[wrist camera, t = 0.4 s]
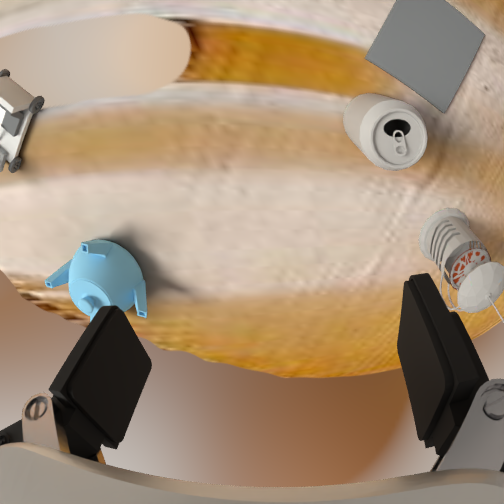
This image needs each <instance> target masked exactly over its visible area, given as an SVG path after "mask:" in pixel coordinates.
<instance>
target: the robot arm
mask: <svg viewBox="0 0 504 504" xmlns="http://www.w3.org/2000/svg"><path fill="white" fill-rule="evenodd" d="M397 349H398V355H399V358H400V362H401V366H402V369H403V373H404V377H405V381H406V385H407V389H408V393H409V398H410V402H411V406H412V411H413V415H414V420H415V425H416V430H417V435H418V438H419V440H420V441H422V440H424V442H425V447H426V448H429V447H433V446H435V449H436V454H437V455H439V457H438V459H437V460H436V462H435V464H434V465H433V467H432V469H431V470H430V472H426V473H420V474H414V475H409V476H401V477H395V478H390V479H383V480H376V481H369V482H361V483H352V484H342V485H341V484H340V485H329V486H313V487H283V488H282V487H275V488H274V487H244V486H228V485H217V484H207V483H198V482H191V481H183V480H177V479H170V478H165V477H159V476H153V475H149V474H144V473H139V472H134V471H130V470H126V469H122V468H118V467H113V466H110V465H106V463H105V460H104V457H103V454H102V451H101V448H100V447H101V444H103V445H104V446H105V447H110V448H113V449H117V447H118V445H119V443H120V442H121V441H122V440H123V439H124V436H125V433H126V431H127V428H128V425H129V423H130V420H131V418H132V415H133V413H134V410H135V407H136V405H137V403H138V400H139V398H140V395H141V392H142V390H143V388H144V385H145V383H146V380H147V377H148V375H149V373H150V371H151V366H152V363H151V359H150V358H149V356H148V354H147V353H146V351H145V349H144V347H143V346H142V344H141V342H140V341H139V339H138V337H137V335H136V334H135V332H134V330H133V328H132V326H131V325H130V323H129V321H128V319H127V317H126V315H125V313H124V312H123V310H121V309H120V308H119V307H118V306H116V305H110V306H102V307H101V308H100V309H99V310H98V312H97V313H96V315H95V316H94V317H93V319H92V320H91V322H90V323H89V325H88V327H87V328H86V330H85V331H84V333H83V334H82V336H81V337H80V339H79V340H78V342H77V343H76V345H75V347H74V348H73V350H72V351H71V353H70V355H69V356H68V358H67V360H66V361H65V363H64V364H63V366H62V368H61V369H60V371H59V373H58V374H57V376H56V378H55V379H54V381H53V383H52V384H51V386H50V388H49V390H50V392H51V393H52V394H53V397H52V398H51V397H50V396H49V395H48V394H46V393H38V394H35V395H34V396H32V397H31V398H30V399H29V400H28V401H27V402H26V404H25V405H24V407H23V410H22V419H21V420H19V421H18V422H16V423H14V424H12V425H10V426H8V427H7V428H5V429H3V430H1V431H0V504H504V379H492V380H490V381H489V379H488V376H487V374H486V372H485V369H484V367H483V365H482V362H481V360H480V358H479V356H478V354H477V352H476V349H475V347H474V345H473V343H472V341H471V339H470V337H469V335H468V333H467V331H466V329H465V327H464V325H463V323H462V321H461V319H460V317H459V315H458V314H457V313H456V312H449V310H448V308H447V306H446V304H445V302H444V300H443V298H442V296H441V295H440V293H439V291H438V289H437V287H436V285H435V284H434V282H433V280H432V278H431V276H430V275H429V274H428V273H424V274H418V275H411V276H410V278H409V281H405V282H404V289H403V300H402V309H401V318H400V326H399V334H398V341H397Z"/></svg>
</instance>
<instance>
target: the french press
mask: <svg viewBox="0 0 504 504" xmlns="http://www.w3.org/2000/svg"><path fill="white" fill-rule="evenodd" d="M470 241H471V249H469V242H470ZM473 241H474V248H473ZM476 241H477V244H478V248H476ZM479 242H480V243H481V248H480V245H479ZM419 246H420V250H421V252H422V253H423V255H424V256H425V257H426V258H428V259H430V260H432V261H435V263H436V265H437V266H438V268H439V269H440V271H441V273H442V276H441V281H440V295H441V296H442V291H441V285H442V279H443V276H444V278H445V279H446V281H447V282H448V296H449V301H450V303H451V304H452V306H453V307H454V308H450V307H448V306H447V305H446V306H447V308H448V309H450V310H455V309H456V310H458V311H466V312H468V313H474V312H479V311H481V310H484V309H486V308H488V307H489V306H491V305H493V306H494V308H495V309H496V311H497V313H498V314H499V316H500V318H501V319H502V321H503V323H504V320H503V318H502V316H501V315H500V313H499V311H498V310H497V308H496V307H495V305H494V302H495V301H496V300H497V299H498V297H499V296H500V295H501V293H502V292H503V290H504V266H502V265H501V264H500V263H498V262H491V257H490V255H489V253H488V251H487V249H486V247H485V246H484V244H483V243H482V242H481V241H480V240H479V238H478V237H477V236H476V235H475V234H474V233H473V232H472V231H471V230H470V228H469V221H468V219H467V217H466V215H465V214H464V213H463V212H461V211H460V210H458V209H455V208H445V209H442V210H439V211H437V212H435V213H434V214H433V215H432V216H431V217H429V218H428V219H427V221H426V222H425V224H424V225H423V227H422V229H421V232H420V236H419ZM440 261H442V263H441V265H440ZM444 266H445V268H446V269H447V271H448V272H449V278H448V276H447V274H446V273H445V271H444ZM449 284H451V285H452V287H453V288H454V289H456V290H458V304H459V306H458V307H455V306H454V305H453V303H452V301H451V298H450V294H449ZM442 298H443V297H442ZM443 300H444V299H443ZM444 302H445V301H444ZM459 307H460V308H461V309H458V308H459Z"/></svg>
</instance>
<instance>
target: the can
mask: <svg viewBox="0 0 504 504" xmlns="http://www.w3.org/2000/svg"><path fill="white" fill-rule="evenodd" d="M343 124H344V128H345V131H346V133H347V135H348V136H349V138H350V139H351V141H352V142H353V143H354V144H355V145H356V146H357V147H358V148H359V149H360V150H361V151H362V152H363V154H364V155H365V156H366V157H367V158H368V159H369V160H370V161H371V162H373V163H374V164H375V165H376V166H378V167H380V168H383V169H385V170H393V171H398V170H402V169H406V168H408V167H410V166H412V165H414V164H415V163H417V162H418V161H419V159H420V158H421V157H422V156H423V154H424V152H425V149H426V147H427V138H428V137H427V130H426V125H425V122H424V120H423V118H422V117H421V115H420V113H419V112H418V111H417V110H416V109H415V108H414V107H413V106H411V105H409V104H407V103H405V102H403V101H400V100H397V99H394V98H390V97H387V96H383V95H379V94H373V93H366V94H361V95H358V96H357V97H355V98H354V99H352V100H351V101H350V103H349V104H348V105H347V106H346V109H345V112H344V115H343Z"/></svg>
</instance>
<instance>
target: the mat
mask: <svg viewBox="0 0 504 504" xmlns="http://www.w3.org/2000/svg"><path fill="white" fill-rule="evenodd" d="M484 35H485V34H484V33H483V32H482V31H480V30H479V29H478V28H477V27H476V26H475V25H474V24H473V23H472V22H470V21H469V20H468V19H467V18H466V17H465V16H464V15H462V14H461V13H460V12H459V11H458V10H456V9H455V8H454V7H453V6H451V5H450V4H449V3H448V2H446V1H445V0H396V2H395V4H394V6H393V8H392V9H391V11H390V13H389V15H388V17H387V19H386V20H385V22H384V24H383V26H382V28H381V29H380V31H379V33H378V35H377V37H376V39H375V40H374V42H373V44H372V46H371V48H370V50H369V51H368V53H367V55H366V57H365V59H366V60H368V61H370V62H371V63H373V64H374V65H376V66H378V67H379V68H381V69H382V70H384V71H386V72H387V73H389V74H390V75H392V76H393V77H395V78H396V79H398V80H399V81H401V82H402V83H403V84H405V85H406V86H408V87H409V88H411V89H412V90H413V91H415V92H416V93H418V94H419V95H420V96H422V97H423V98H424V99H426V100H427V101H428V102H430V103H431V104H432V105H434V106H435V107H436V108H437V109H439V110H440V111H441V112H442V113H445V112H446V110H447V108H448V106H449V104H450V103H451V101H452V99H453V97H454V95H455V93H456V91H457V90H458V88H459V86H460V84H461V82H462V80H463V78H464V76H465V74H466V72H467V70H468V68H469V66H470V64H471V62H472V60H473V58H474V56H475V54H476V52H477V50H478V48H479V46H480V44H481V42H482V39H483V37H484Z"/></svg>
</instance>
